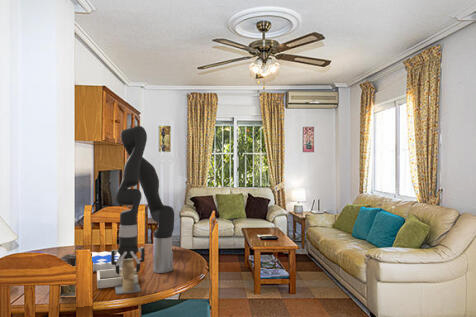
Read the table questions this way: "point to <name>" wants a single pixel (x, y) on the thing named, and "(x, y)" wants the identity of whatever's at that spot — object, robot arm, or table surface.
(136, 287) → the mat
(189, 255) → the table surface
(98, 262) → the pixel art tile
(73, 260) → the coffee box
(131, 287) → the tan upright block
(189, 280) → the table surface
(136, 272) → the offcut upper
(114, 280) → the u-shaped fence
